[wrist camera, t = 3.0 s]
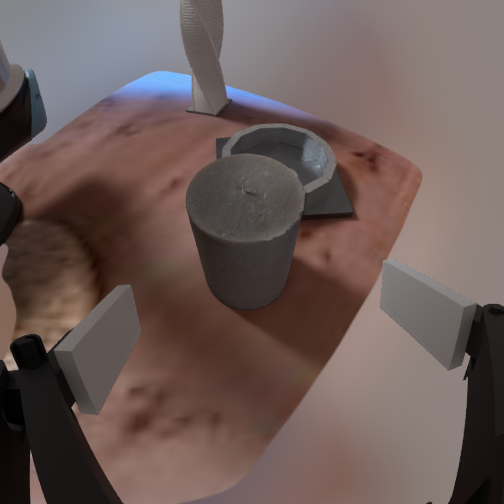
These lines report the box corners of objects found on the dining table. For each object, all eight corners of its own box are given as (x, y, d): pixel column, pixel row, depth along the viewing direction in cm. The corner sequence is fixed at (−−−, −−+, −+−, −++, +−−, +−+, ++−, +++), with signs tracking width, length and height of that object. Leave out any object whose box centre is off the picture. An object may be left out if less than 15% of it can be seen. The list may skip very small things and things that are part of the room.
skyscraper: (238, 101, 55) (233, -24, 32) (220, 120, 52) (209, -21, 28) (203, 96, 57) (191, -21, 33) (183, 114, 53) (163, -15, 30)
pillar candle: (191, 264, 35) (160, 174, 22) (256, 224, 38) (257, 128, 25) (237, 327, 31) (226, 258, 18) (306, 279, 34) (335, 191, 21)
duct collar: (219, 226, 38) (216, 206, 35) (216, 143, 48) (214, 124, 44) (351, 216, 39) (359, 197, 36) (319, 138, 48) (322, 119, 45)
